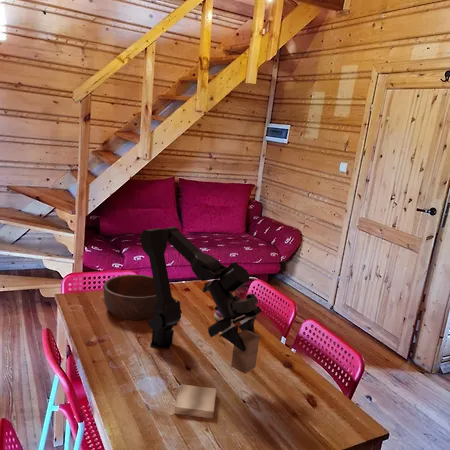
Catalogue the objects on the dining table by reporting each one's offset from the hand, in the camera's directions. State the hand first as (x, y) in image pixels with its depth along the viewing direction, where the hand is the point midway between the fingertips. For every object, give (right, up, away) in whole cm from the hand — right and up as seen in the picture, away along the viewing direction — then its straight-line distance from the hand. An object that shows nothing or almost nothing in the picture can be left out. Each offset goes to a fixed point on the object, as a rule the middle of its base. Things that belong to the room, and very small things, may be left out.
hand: (249, 347), depth 120 cm
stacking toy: (-7, -3, +48) cm, 48 cm away
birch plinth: (-15, -13, -6) cm, 21 cm away
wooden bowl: (-42, +1, +48) cm, 64 cm away
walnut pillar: (-2, -6, +2) cm, 7 cm away
